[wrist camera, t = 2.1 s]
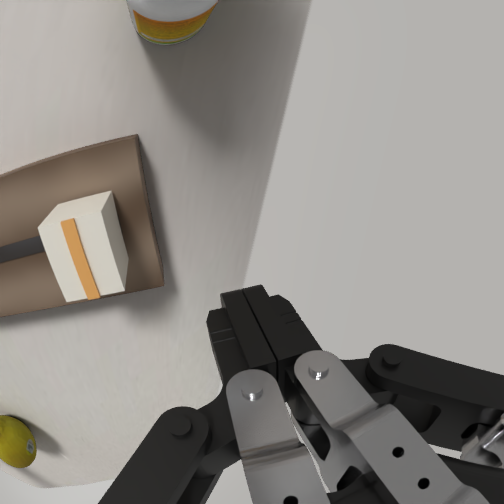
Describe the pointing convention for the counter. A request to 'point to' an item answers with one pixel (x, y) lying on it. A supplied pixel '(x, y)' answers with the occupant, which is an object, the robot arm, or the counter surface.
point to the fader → (86, 247)
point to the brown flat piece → (63, 190)
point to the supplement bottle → (169, 18)
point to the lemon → (16, 442)
